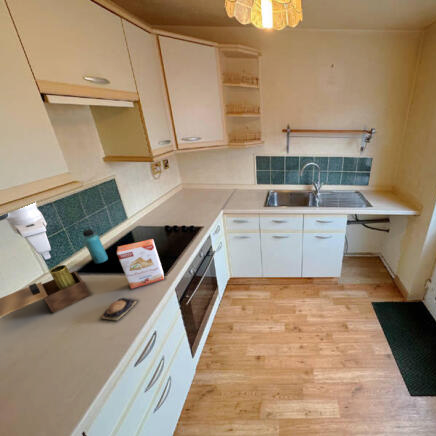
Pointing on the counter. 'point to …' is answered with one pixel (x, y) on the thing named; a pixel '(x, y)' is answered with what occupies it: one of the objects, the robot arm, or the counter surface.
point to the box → (64, 293)
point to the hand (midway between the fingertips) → (45, 254)
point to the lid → (22, 298)
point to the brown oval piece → (118, 309)
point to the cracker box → (140, 263)
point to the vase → (62, 277)
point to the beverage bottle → (95, 247)
